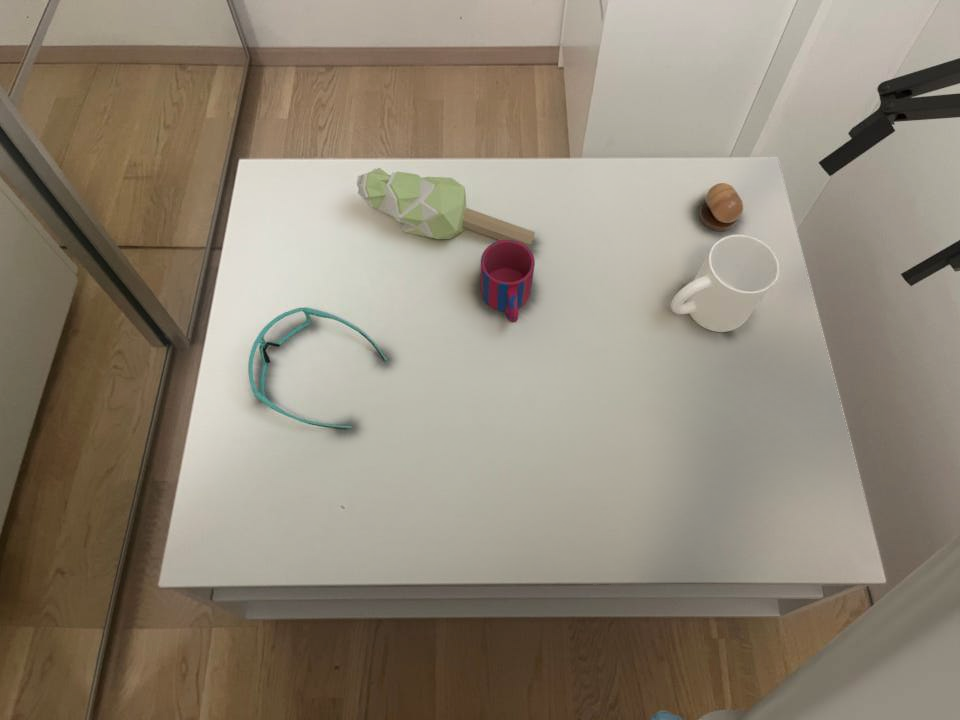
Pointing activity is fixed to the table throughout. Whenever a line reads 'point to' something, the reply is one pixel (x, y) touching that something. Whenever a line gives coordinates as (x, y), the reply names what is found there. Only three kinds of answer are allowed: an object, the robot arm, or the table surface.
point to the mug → (729, 283)
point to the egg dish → (721, 208)
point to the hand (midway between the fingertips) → (862, 222)
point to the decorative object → (432, 206)
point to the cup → (507, 276)
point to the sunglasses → (265, 344)
